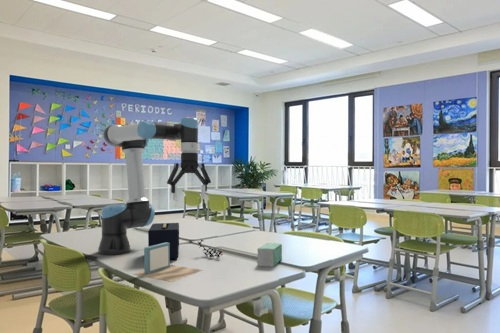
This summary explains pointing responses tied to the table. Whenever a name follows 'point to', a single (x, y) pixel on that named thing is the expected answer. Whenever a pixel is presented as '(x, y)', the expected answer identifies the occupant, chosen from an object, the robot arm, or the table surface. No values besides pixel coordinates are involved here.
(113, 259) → the table surface
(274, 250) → the box
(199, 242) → the molecular model
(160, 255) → the tile
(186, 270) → the mat
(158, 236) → the speaker
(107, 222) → the robot arm
